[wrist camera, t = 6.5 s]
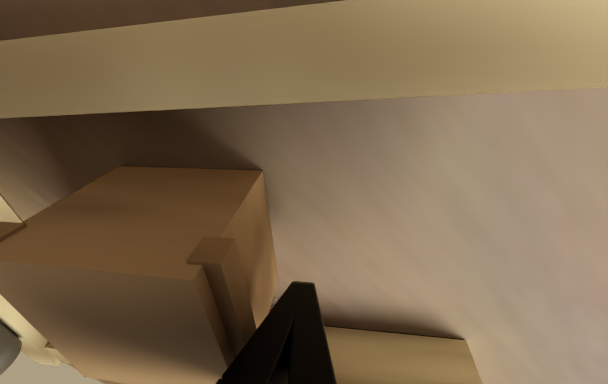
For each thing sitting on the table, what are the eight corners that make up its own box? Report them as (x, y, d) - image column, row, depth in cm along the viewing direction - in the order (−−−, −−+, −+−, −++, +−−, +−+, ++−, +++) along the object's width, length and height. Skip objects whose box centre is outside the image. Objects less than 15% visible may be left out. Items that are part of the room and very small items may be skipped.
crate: (287, 282, 13) (256, 408, 8) (160, 270, 14) (75, 375, 9) (274, 168, 9) (211, 278, 5) (108, 163, 10) (-56, 252, 6)
